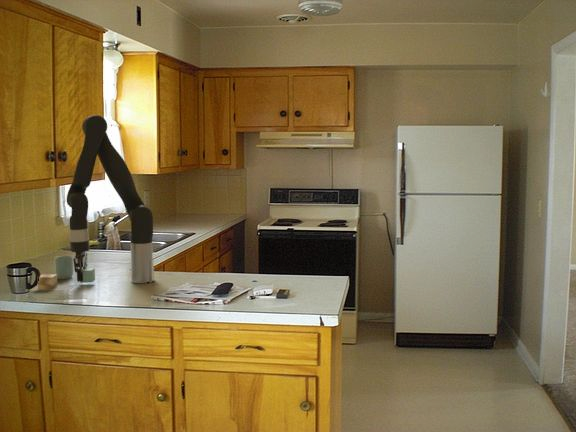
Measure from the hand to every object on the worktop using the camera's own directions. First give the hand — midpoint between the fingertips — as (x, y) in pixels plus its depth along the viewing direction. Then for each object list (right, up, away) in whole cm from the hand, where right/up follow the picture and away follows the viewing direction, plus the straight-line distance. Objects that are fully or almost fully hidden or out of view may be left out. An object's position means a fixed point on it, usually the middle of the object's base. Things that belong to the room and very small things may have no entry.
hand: (81, 279), depth 282 cm
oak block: (-12, -3, -5) cm, 14 cm away
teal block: (+2, -1, 0) cm, 2 cm away
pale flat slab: (-10, -4, -5) cm, 12 cm away
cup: (-12, -2, +16) cm, 20 cm away
